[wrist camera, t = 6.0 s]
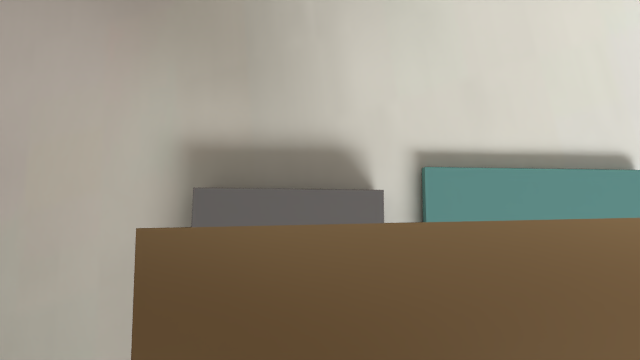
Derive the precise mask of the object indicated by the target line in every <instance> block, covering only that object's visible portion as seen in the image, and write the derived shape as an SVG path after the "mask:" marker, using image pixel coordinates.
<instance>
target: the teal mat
mask: <svg viewBox="0 0 640 360" xmlns="http://www.w3.org/2000/svg"><path fill="white" fill-rule="evenodd" d="M422 194H423V222H462V221H509V220H556V219H603V218H640V170H599V169H528V168H456V167H424V168H422Z"/></svg>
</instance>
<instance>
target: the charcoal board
mask: <svg viewBox="0 0 640 360" xmlns="http://www.w3.org/2000/svg"><path fill="white" fill-rule="evenodd" d="M369 223H384V190H337V189H259V188H193V207H192V226H191V227H228V226H275V225H322V224H369Z"/></svg>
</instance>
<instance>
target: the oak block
mask: <svg viewBox="0 0 640 360" xmlns="http://www.w3.org/2000/svg"><path fill="white" fill-rule="evenodd" d="M131 360H640V218H603V219H556V220H509V221H462V222H416V223H369V224H322V225H275V226H228V227H181V228H136V247H135V273H134V299H133V324H132V350H131Z"/></svg>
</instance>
